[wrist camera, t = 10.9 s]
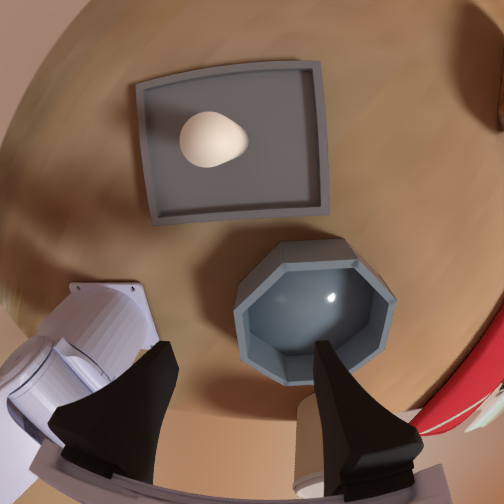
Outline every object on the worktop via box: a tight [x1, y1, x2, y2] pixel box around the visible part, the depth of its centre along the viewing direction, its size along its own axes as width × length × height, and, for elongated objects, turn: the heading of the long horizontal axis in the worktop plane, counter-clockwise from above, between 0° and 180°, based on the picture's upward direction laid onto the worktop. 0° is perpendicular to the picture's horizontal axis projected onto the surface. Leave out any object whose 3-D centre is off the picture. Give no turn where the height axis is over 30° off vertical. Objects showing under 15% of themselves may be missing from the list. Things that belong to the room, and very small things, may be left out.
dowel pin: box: [179, 111, 249, 168], centre depth 14 cm, size 2×2×8 cm
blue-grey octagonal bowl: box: [233, 238, 397, 386], centre depth 22 cm, size 12×12×4 cm
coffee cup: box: [293, 393, 324, 499], centre depth 24 cm, size 9×9×12 cm
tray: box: [136, 61, 329, 226], centre depth 18 cm, size 13×11×2 cm
